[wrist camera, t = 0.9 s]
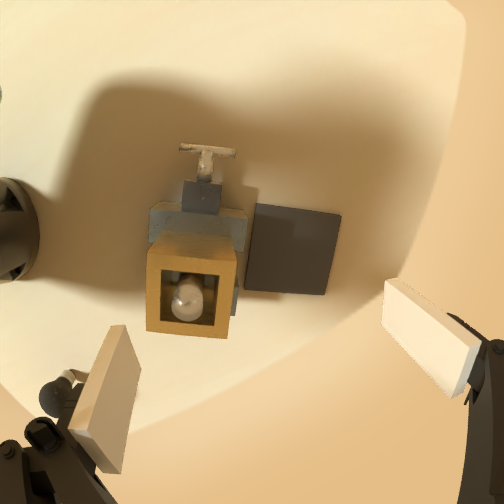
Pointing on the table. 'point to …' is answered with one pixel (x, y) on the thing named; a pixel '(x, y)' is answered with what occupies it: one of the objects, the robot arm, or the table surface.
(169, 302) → the open wooden box
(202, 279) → the vise
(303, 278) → the mat
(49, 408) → the light bulb
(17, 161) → the table surface
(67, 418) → the robot arm
